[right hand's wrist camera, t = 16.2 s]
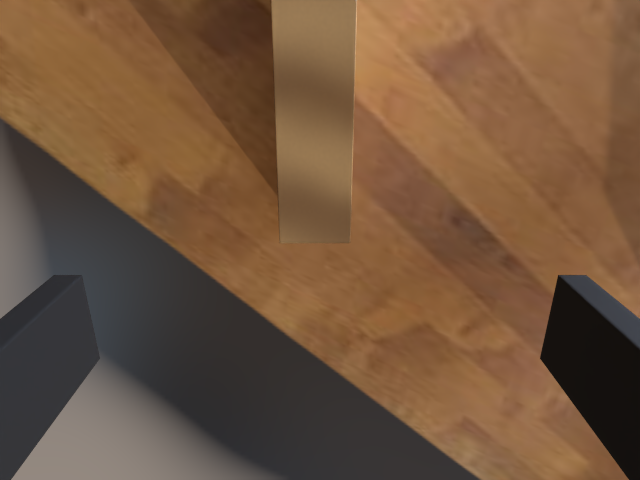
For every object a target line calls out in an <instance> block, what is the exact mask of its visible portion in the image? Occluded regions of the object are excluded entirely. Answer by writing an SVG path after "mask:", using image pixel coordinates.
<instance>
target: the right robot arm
mask: <svg viewBox="0 0 640 480" xmlns="http://www.w3.org/2000/svg"><path fill="white" fill-rule="evenodd" d="M99 359H100V357H99V352H98V347H97V343H96V338H95V334H94V329H93V325H92V320H91V315H90V311H89V306H88V302H87V297H86V293H85V288H84V283H83V279H82V275H54V276H52V277H51V278H50V279H49V280H48V281H46V282H45V283H44V284H43V285H41V286H40V287H39V288H38V289H36V290H35V291H34V292H33V293H32V294H30V295H29V296H28V297H27V298H25V299H24V300H23V301H22V302H21V303H19V304H18V305H17V306H16V307H14V308H13V309H12V310H11V311H9V312H8V313H7V314H6V315H5V316H3V317H2V318H1V319H0V480H11V479H12V477H13V476H14V475H15V473H16V472H17V471H18V469H19V468H20V466H21V465H22V464H23V462H24V461H25V460H26V458H27V457H28V456H29V454H30V453H31V452H32V450H33V449H34V447H35V446H36V445H37V443H38V442H39V441H40V439H41V438H42V437H43V435H44V434H45V432H46V431H47V430H48V428H49V427H50V426H51V424H52V423H53V422H54V420H55V419H56V417H57V416H58V415H59V413H60V412H61V411H62V409H63V408H64V407H65V405H66V404H67V402H68V401H69V400H70V398H71V397H72V396H73V394H74V393H75V392H76V390H77V389H78V387H79V386H80V385H81V383H82V382H83V381H84V379H85V378H86V377H87V375H88V374H89V372H90V371H91V370H92V368H93V367H94V366H95V364H96V363H97V362H98V360H99ZM540 359H541V360H542V362H543V363H544V364H545V366H546V367H547V368H548V370H549V371H550V373H551V374H552V375H553V377H554V378H555V379H556V381H557V382H558V383H559V385H560V386H561V388H562V389H563V390H564V392H565V393H566V394H567V396H568V397H569V398H570V400H571V401H572V403H573V404H574V405H575V407H576V408H577V409H578V411H579V412H580V413H581V415H582V416H583V417H584V419H585V420H586V422H587V423H588V424H589V426H590V427H591V428H592V430H593V431H594V432H595V434H596V435H597V437H598V438H599V439H600V441H601V442H602V443H603V445H604V446H605V447H606V449H607V450H608V452H609V453H610V454H611V456H612V457H613V458H614V460H615V461H616V462H617V464H618V465H619V467H620V468H621V469H622V471H623V472H624V473H625V475H626V476H627V477H628V479H629V480H640V319H639V318H638V317H637V316H635V315H634V314H633V313H632V312H631V311H629V310H628V309H627V308H626V307H624V306H623V305H622V304H621V303H620V302H618V301H617V300H616V299H615V298H613V297H612V296H611V295H610V294H609V293H607V292H606V291H605V290H604V289H602V288H601V287H600V286H599V285H597V284H596V283H595V282H594V281H593V280H591V279H590V278H589V277H588V276H586V275H558V279H557V283H556V288H555V293H554V297H553V302H552V306H551V311H550V315H549V320H548V325H547V329H546V334H545V338H544V343H543V347H542V352H541V357H540Z"/></svg>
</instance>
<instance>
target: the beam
mask: <svg viewBox="0 0 640 480" xmlns="http://www.w3.org/2000/svg"><path fill="white" fill-rule="evenodd" d="M271 16H272V44H273V72H274V100H275V128H276V156H277V184H278V212H279V240H280V243H350V240H351V203H352V167H353V130H354V94H355V57H356V21H357V0H271Z"/></svg>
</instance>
